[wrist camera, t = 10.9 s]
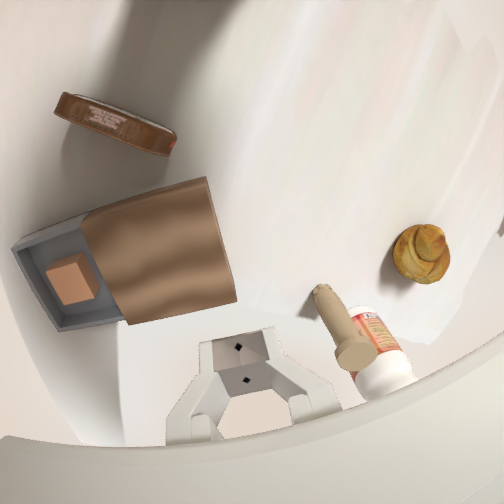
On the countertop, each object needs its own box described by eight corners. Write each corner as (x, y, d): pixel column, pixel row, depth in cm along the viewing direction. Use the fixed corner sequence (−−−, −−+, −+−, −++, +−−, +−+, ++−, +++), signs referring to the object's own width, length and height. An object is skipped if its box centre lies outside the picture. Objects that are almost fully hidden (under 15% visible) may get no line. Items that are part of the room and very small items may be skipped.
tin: (71, 112, 29) (38, 116, 21) (80, 89, 28) (49, 87, 20) (172, 153, 34) (163, 166, 26) (183, 130, 33) (177, 136, 25)
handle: (321, 309, 49) (355, 375, 36) (297, 291, 46) (329, 361, 33) (342, 290, 48) (383, 353, 35) (319, 270, 45) (360, 336, 32)
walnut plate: (92, 210, 35) (79, 224, 31) (205, 176, 36) (205, 186, 31) (134, 304, 43) (128, 325, 39) (233, 281, 44) (237, 301, 39)
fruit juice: (376, 297, 50) (461, 419, 25) (373, 332, 54) (440, 445, 30) (329, 313, 50) (400, 452, 25) (330, 347, 54) (387, 472, 30)
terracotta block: (76, 262, 34) (83, 252, 37) (45, 272, 34) (53, 261, 37) (94, 298, 37) (100, 286, 40) (63, 305, 37) (70, 293, 40)
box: (21, 237, 35) (10, 248, 32) (90, 210, 35) (81, 220, 32) (65, 318, 42) (58, 332, 39) (132, 304, 43) (128, 319, 40)
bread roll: (444, 245, 47) (471, 266, 40) (413, 284, 50) (436, 308, 43) (413, 207, 42) (444, 227, 35) (377, 252, 45) (403, 278, 38)
